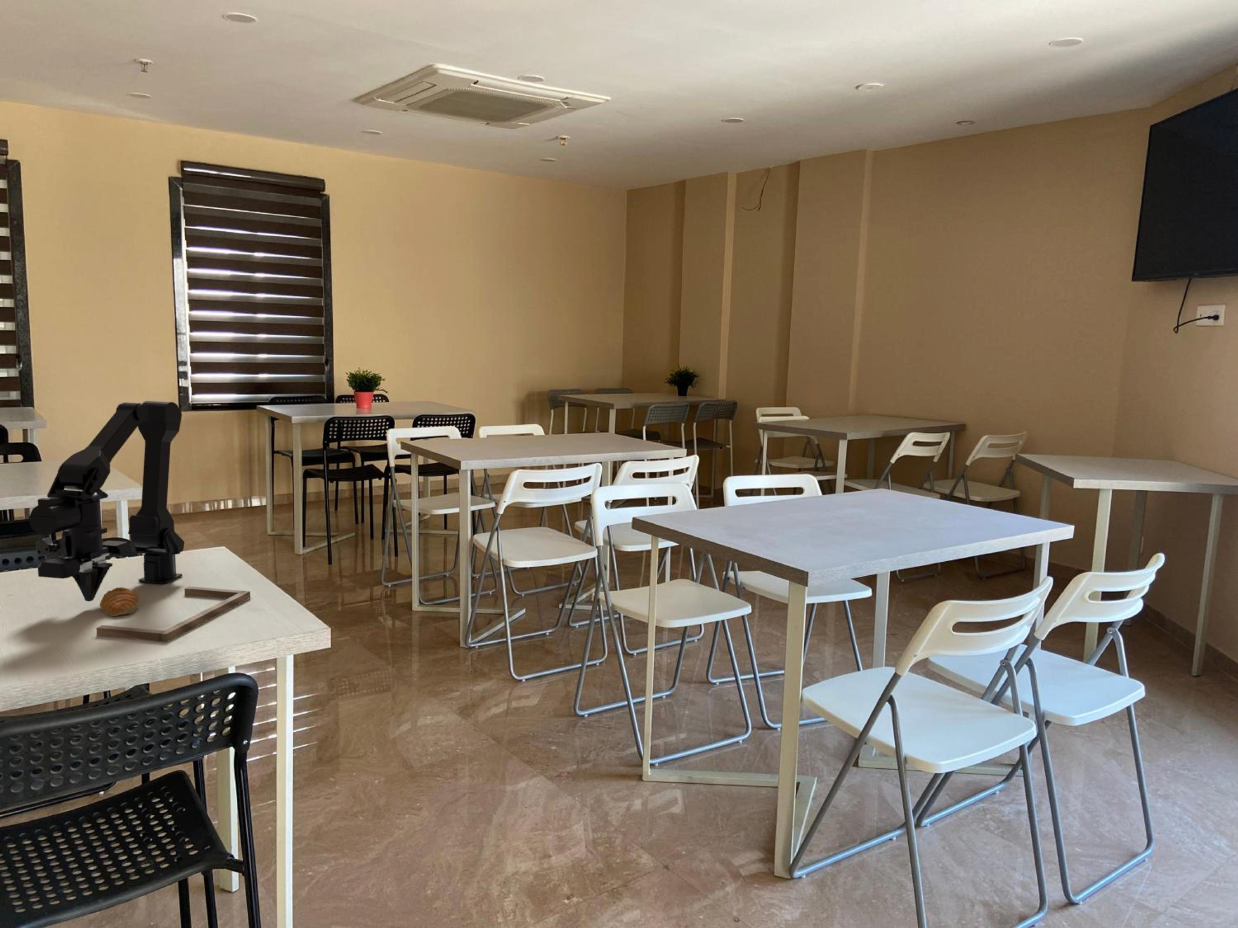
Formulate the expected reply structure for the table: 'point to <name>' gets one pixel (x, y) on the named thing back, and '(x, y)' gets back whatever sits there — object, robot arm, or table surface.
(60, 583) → the table surface
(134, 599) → the pastry
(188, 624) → the walnut frame
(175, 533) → the robot arm
